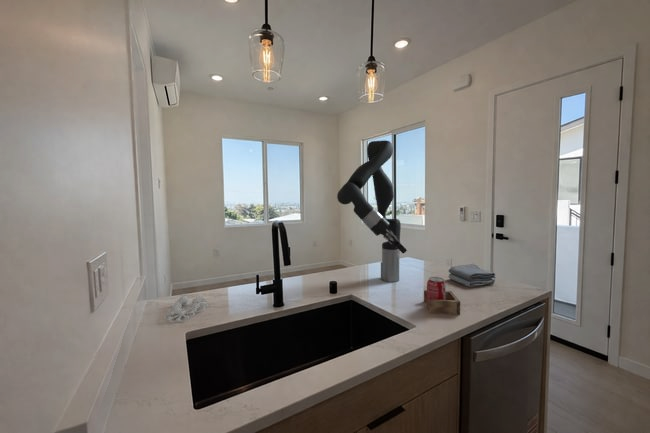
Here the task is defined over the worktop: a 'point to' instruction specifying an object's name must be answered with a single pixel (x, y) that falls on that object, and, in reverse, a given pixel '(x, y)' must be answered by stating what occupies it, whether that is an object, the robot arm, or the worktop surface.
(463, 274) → the towel
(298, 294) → the worktop surface
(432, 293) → the soda can
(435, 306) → the wooden tray
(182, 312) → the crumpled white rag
